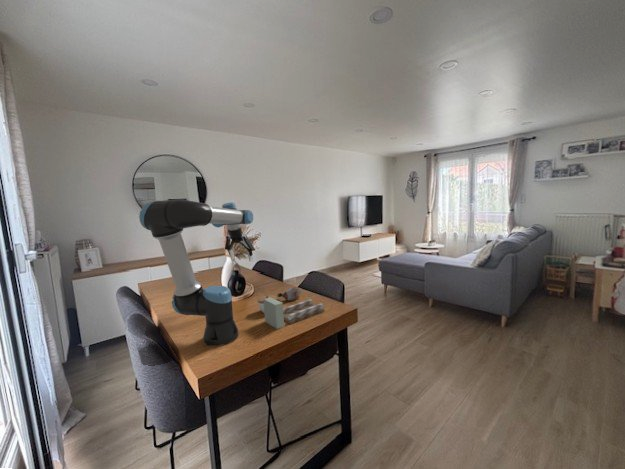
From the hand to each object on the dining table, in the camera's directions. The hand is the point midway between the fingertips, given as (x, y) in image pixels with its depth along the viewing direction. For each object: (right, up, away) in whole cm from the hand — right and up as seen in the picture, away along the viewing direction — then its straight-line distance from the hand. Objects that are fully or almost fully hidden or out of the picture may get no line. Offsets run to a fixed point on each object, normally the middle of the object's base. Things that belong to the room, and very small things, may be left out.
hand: (242, 259), depth 163 cm
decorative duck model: (+30, -26, +3) cm, 40 cm away
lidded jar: (+19, -28, -16) cm, 37 cm away
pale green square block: (+25, -29, -33) cm, 51 cm away
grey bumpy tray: (+38, -27, -22) cm, 52 cm away
